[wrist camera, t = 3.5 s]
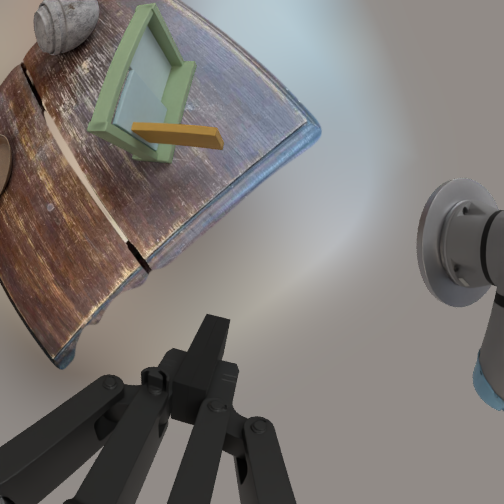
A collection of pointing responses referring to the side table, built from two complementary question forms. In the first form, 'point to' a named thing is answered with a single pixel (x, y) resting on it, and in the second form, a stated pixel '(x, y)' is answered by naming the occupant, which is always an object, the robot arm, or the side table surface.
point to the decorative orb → (64, 24)
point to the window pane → (157, 120)
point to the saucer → (5, 162)
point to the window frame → (152, 73)
